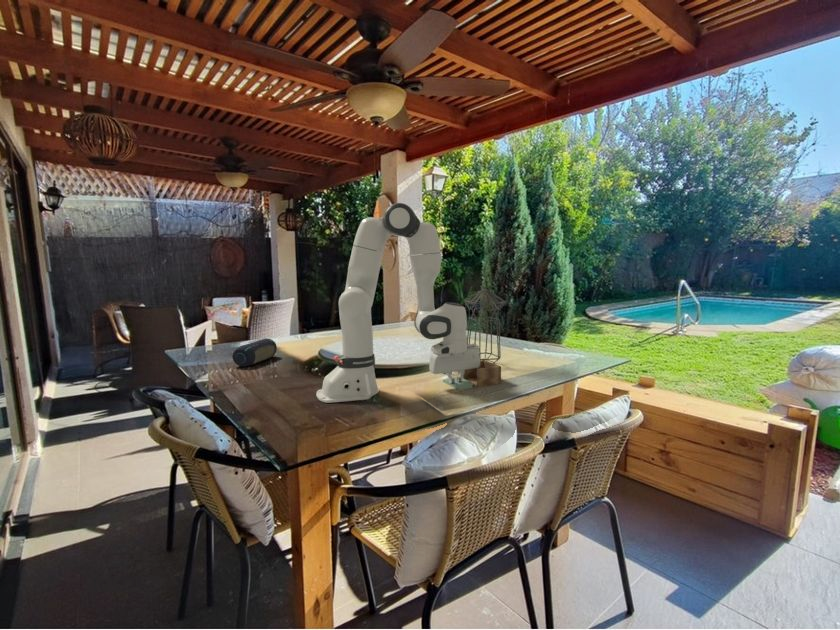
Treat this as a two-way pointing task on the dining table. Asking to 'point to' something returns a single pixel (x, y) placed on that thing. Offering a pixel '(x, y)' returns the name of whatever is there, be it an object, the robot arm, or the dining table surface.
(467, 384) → the panel
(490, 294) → the geometric lantern
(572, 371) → the dining table surface
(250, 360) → the portable speaker
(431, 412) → the dining table surface
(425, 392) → the dining table surface
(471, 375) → the crate
